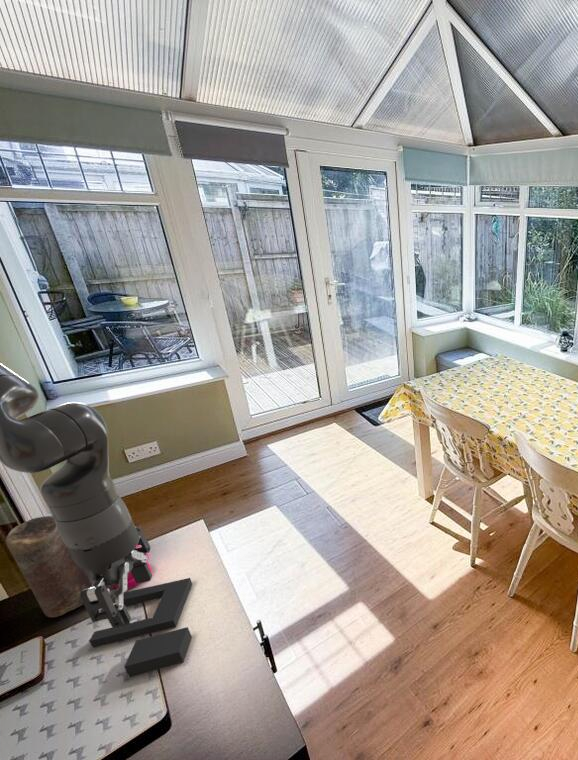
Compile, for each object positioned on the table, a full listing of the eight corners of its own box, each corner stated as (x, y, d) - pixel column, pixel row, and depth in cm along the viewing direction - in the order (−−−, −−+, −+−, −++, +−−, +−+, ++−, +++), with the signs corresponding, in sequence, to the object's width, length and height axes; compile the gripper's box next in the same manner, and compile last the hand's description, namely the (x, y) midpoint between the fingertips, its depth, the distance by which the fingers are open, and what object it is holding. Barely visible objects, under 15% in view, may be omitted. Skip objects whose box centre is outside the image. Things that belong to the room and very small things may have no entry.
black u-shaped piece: (92, 648, 77) (88, 641, 76) (118, 600, 86) (115, 594, 85) (176, 627, 81) (173, 620, 80) (192, 584, 90) (190, 577, 89)
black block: (129, 677, 72) (123, 666, 71) (141, 650, 77) (136, 640, 76) (183, 662, 75) (179, 651, 74) (192, 637, 79) (187, 626, 78)
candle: (97, 581, 90) (60, 509, 82) (98, 604, 85) (58, 530, 77) (46, 602, 85) (1, 528, 77) (44, 627, 80) (-4, 551, 72)
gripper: (91, 503, 68) (125, 573, 74) (36, 571, 55) (83, 648, 62) (147, 493, 70) (175, 563, 77) (106, 557, 58) (144, 633, 65)
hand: (134, 601), depth 69 cm, fingers open, 8 cm apart
